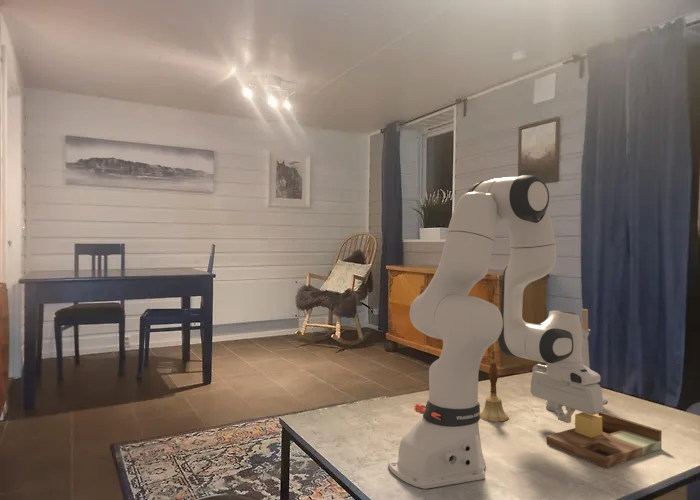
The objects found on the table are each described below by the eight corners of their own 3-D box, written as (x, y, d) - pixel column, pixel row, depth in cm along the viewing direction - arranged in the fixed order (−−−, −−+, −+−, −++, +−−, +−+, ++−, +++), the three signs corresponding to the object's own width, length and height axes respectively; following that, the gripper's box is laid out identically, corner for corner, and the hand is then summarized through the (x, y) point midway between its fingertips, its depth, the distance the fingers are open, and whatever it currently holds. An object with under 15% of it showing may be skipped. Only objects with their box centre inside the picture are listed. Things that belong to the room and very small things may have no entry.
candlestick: (559, 392, 167) (558, 305, 167) (598, 393, 166) (598, 305, 166) (570, 404, 155) (570, 310, 155) (613, 405, 153) (613, 310, 153)
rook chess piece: (562, 412, 147) (562, 385, 147) (547, 411, 148) (547, 385, 148) (559, 407, 151) (559, 381, 151) (544, 406, 152) (544, 381, 152)
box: (606, 468, 109) (606, 448, 109) (546, 443, 123) (546, 426, 123) (661, 448, 120) (661, 430, 120) (600, 428, 134) (600, 411, 134)
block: (591, 437, 122) (591, 419, 122) (575, 431, 126) (575, 414, 126) (602, 434, 124) (602, 416, 124) (586, 428, 128) (586, 411, 128)
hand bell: (473, 415, 145) (473, 361, 145) (493, 410, 149) (493, 358, 149) (494, 424, 137) (494, 367, 137) (514, 418, 141) (514, 364, 141)
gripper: (525, 363, 139) (525, 412, 139) (591, 380, 121) (591, 435, 121) (540, 361, 142) (540, 408, 142) (606, 377, 124) (606, 431, 124)
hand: (564, 421), depth 131 cm, fingers closed
